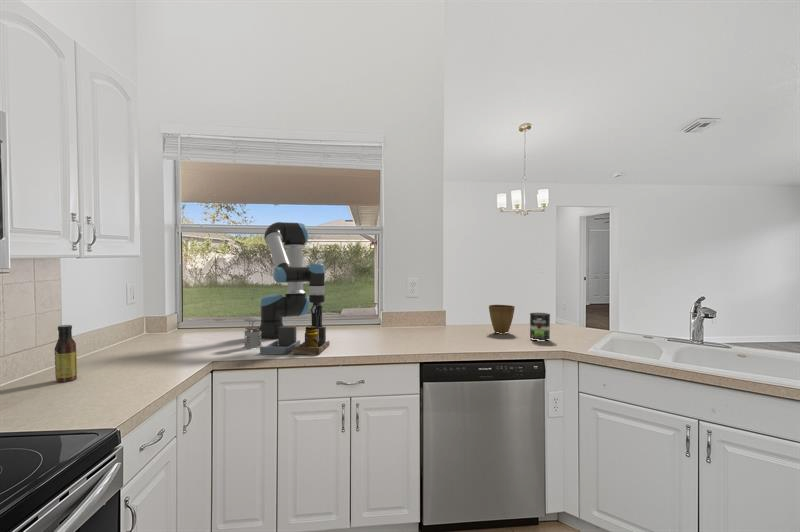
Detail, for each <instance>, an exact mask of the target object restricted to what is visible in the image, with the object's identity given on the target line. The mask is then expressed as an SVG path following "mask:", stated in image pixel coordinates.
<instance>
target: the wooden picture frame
mask: <svg viewBox="0 0 800 532" xmlns="http://www.w3.org/2000/svg"><path fill="white" fill-rule="evenodd" d="M318 329H319V342H318V347H305V341H303V342H301V343H300V345H299V346H297V347H293V348H292V350H291V351H292V355H319V354H321V353H322V352H324V351H325V350H326V349H327V348H328V347H329V346H330V344H331V342H330V340H327V334H326V333H327V327H326V326H323V327H318Z"/></svg>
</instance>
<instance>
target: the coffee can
mask: <svg viewBox="0 0 800 532" xmlns="http://www.w3.org/2000/svg"><path fill="white" fill-rule="evenodd" d="M529 315H530V316H529V317H530V318H529V339H530V338H533V339H539V340H547V339H550V338H551V337H550V334H551V333H550V330H551V329H550V327H551V318H550V317H551V314H550V313H547V312H530V313H529Z"/></svg>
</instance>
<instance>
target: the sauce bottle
mask: <svg viewBox="0 0 800 532" xmlns="http://www.w3.org/2000/svg"><path fill="white" fill-rule="evenodd" d="M57 331H58V339H57V342H56V344H55V347H54V367H55V380H56V382H57V383H65V382H66V383H69V382H72V381H75V380H76V379H77V378H78V354H77V353H78V351H77V350H78V349H77V343H76V341H75V340H74V339H73V334H72V331H73V325H72V324H61V325H58V326H57Z"/></svg>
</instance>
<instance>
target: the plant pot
mask: <svg viewBox="0 0 800 532" xmlns="http://www.w3.org/2000/svg"><path fill="white" fill-rule="evenodd" d="M488 310H489V311H488V312H489V316H490V322H491V326H492V328H493V331H495V332H499V333H505V332H508V333H509V331H510V329H511V326H512V322H513V318H514V314H515V306H514V305H509V304H490V305H488ZM495 332H494V333H495Z"/></svg>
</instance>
